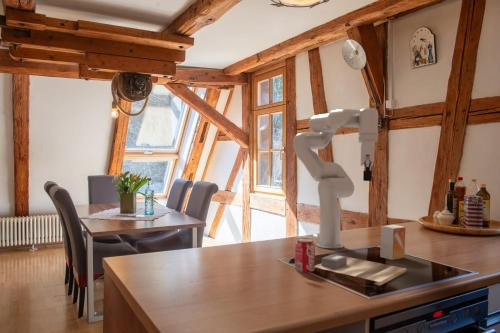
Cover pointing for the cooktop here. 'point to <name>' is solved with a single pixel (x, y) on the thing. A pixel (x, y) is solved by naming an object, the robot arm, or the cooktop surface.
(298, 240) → the soda can
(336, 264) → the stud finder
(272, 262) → the cooktop surface
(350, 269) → the plywood panel
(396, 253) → the small box
